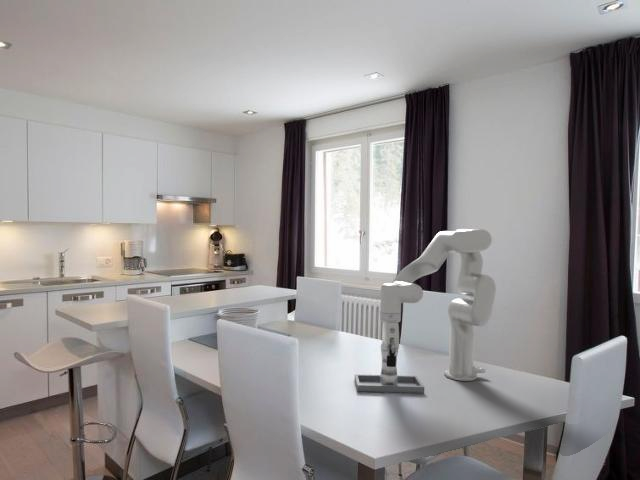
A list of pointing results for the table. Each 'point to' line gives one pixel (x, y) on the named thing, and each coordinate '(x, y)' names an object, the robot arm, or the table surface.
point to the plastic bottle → (388, 368)
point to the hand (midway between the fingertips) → (388, 362)
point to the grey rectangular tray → (374, 386)
